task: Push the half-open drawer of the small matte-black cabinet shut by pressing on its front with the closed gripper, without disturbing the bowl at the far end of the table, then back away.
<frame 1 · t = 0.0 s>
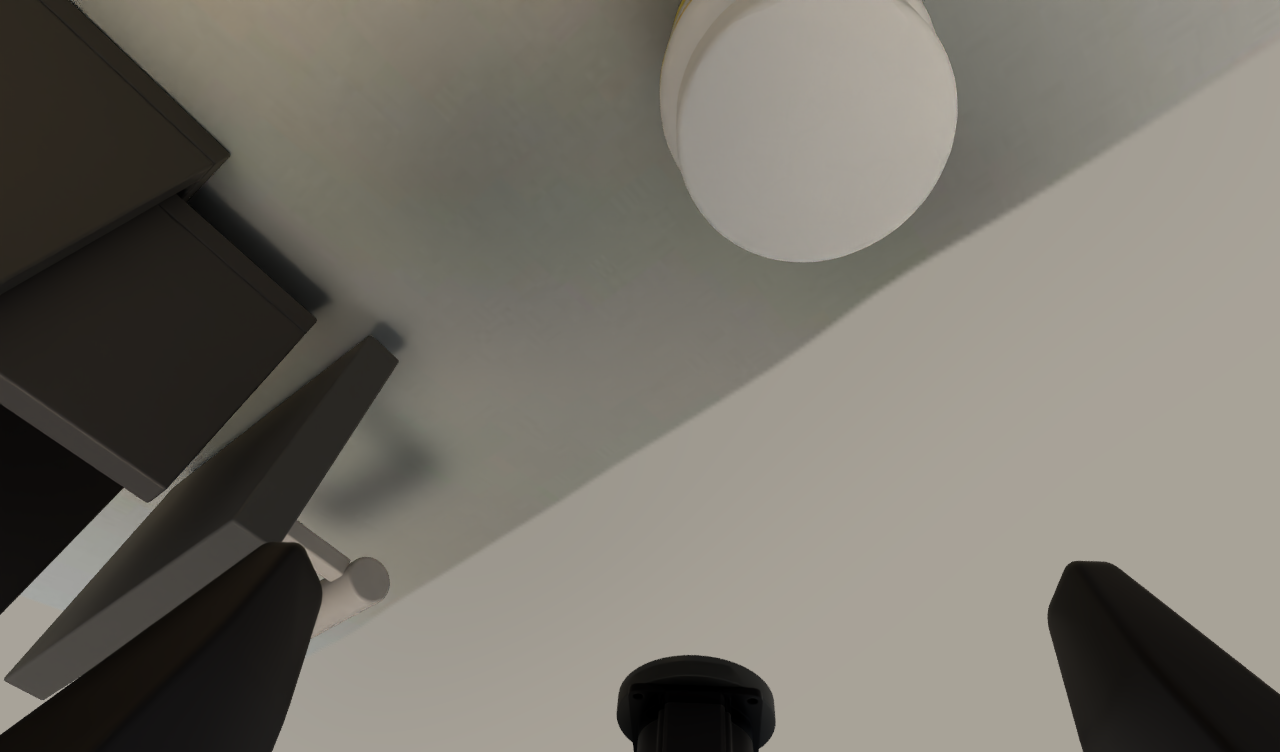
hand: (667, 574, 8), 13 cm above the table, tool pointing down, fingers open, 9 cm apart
supplement bottle: (770, 38, 17), on the table
drawer: (84, 422, 19), point 5 cm above the table, slide at 6.0 cm
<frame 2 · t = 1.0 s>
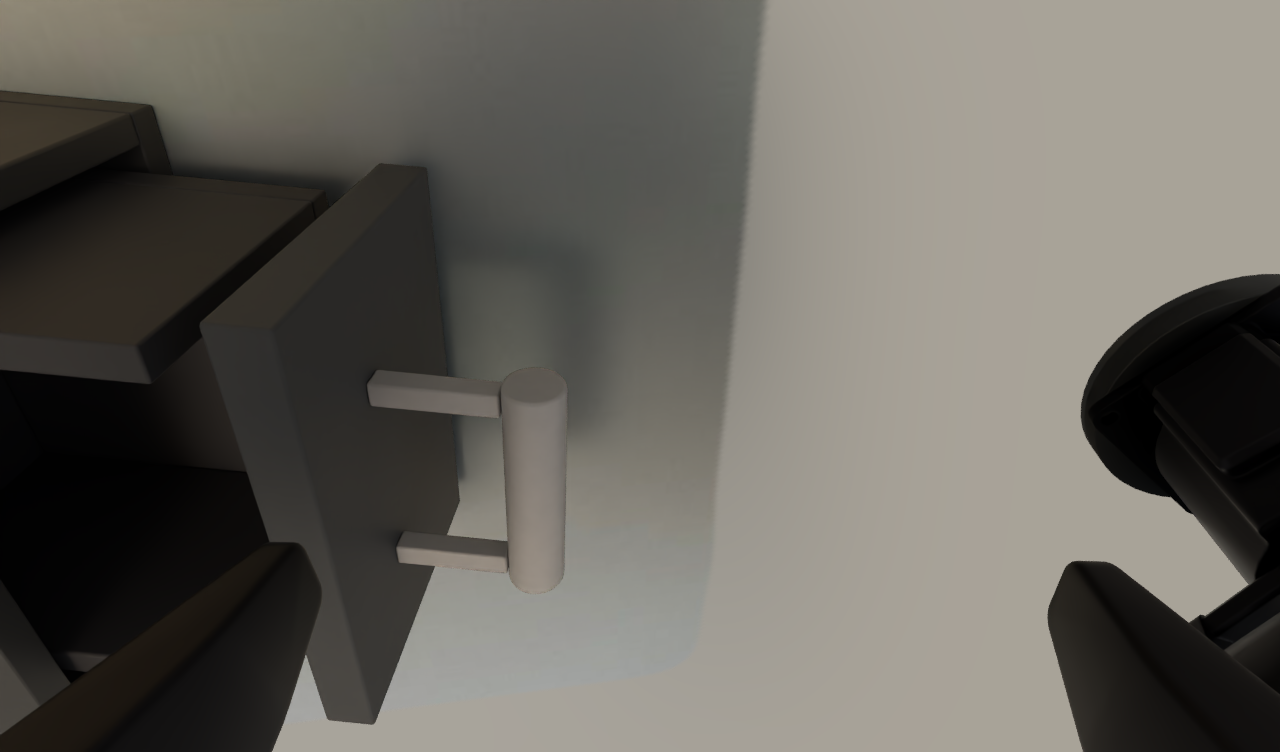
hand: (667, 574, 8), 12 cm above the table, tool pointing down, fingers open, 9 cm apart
drawer: (213, 428, 18), point 5 cm above the table, slide at 6.0 cm
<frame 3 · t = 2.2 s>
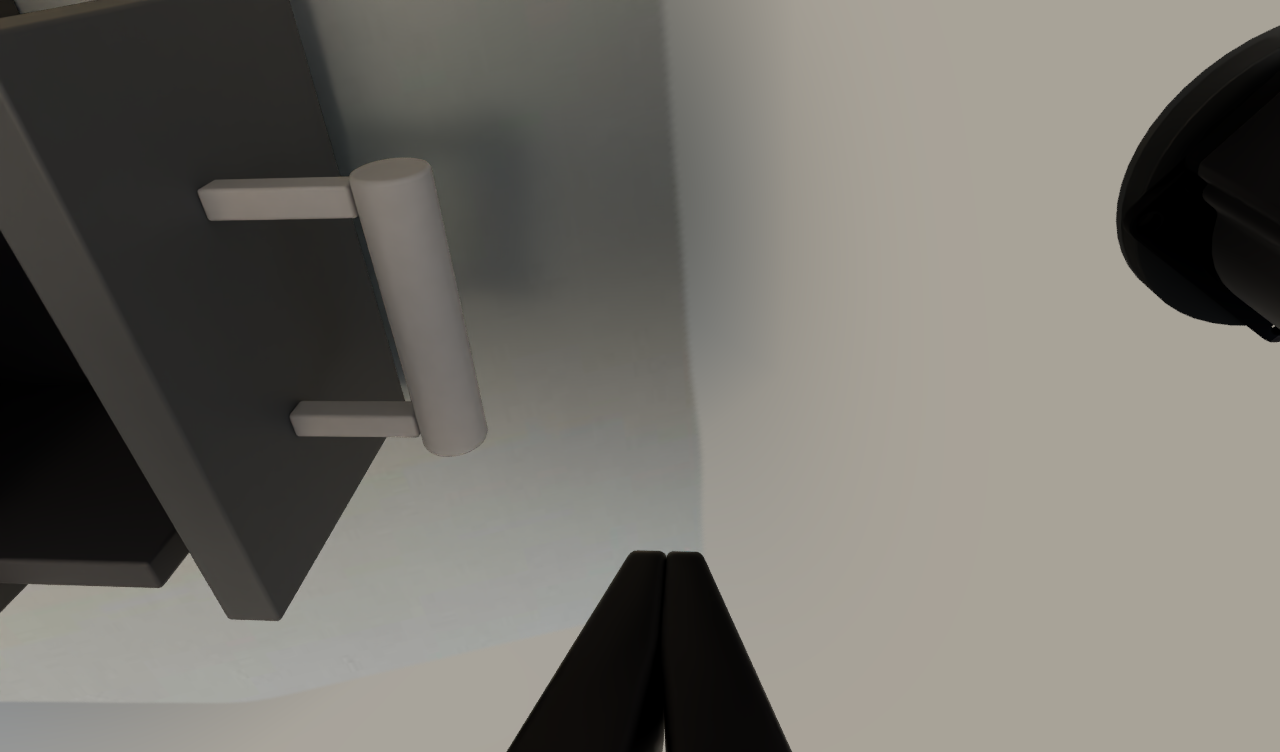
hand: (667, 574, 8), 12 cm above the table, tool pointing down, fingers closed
drawer: (79, 299, 16), point 5 cm above the table, slide at 6.0 cm
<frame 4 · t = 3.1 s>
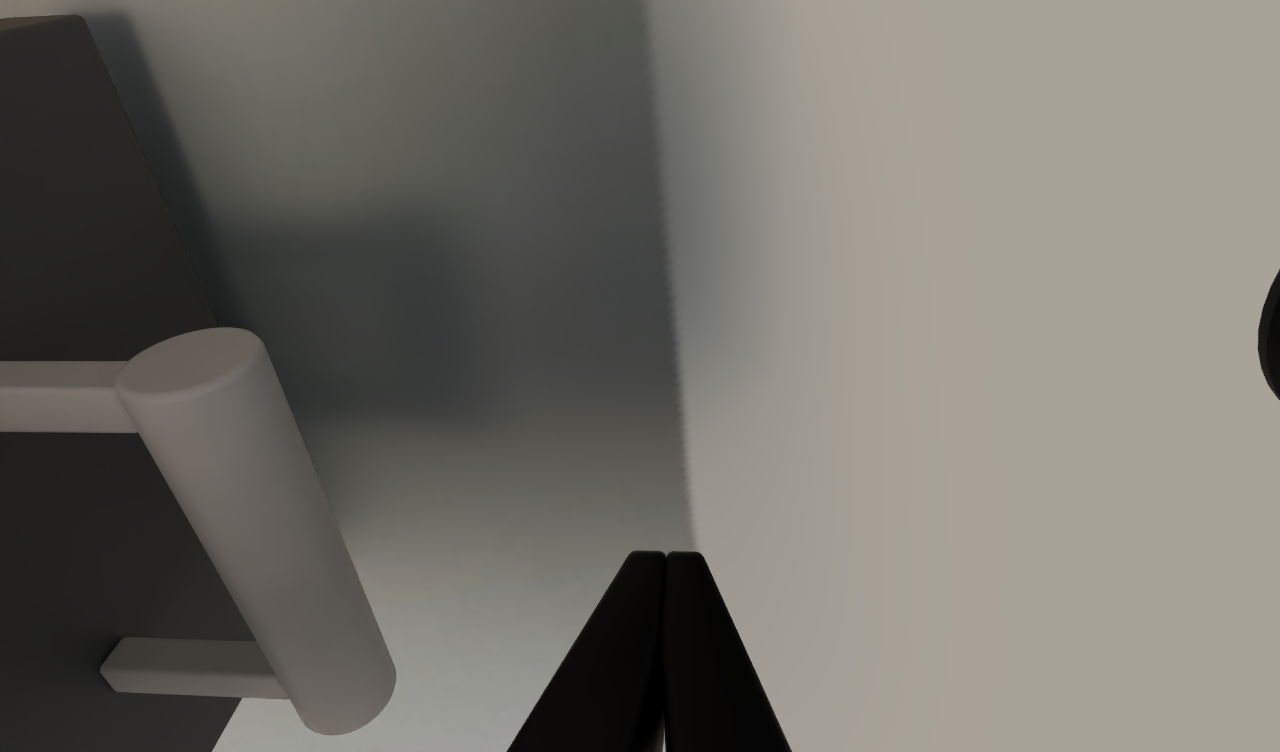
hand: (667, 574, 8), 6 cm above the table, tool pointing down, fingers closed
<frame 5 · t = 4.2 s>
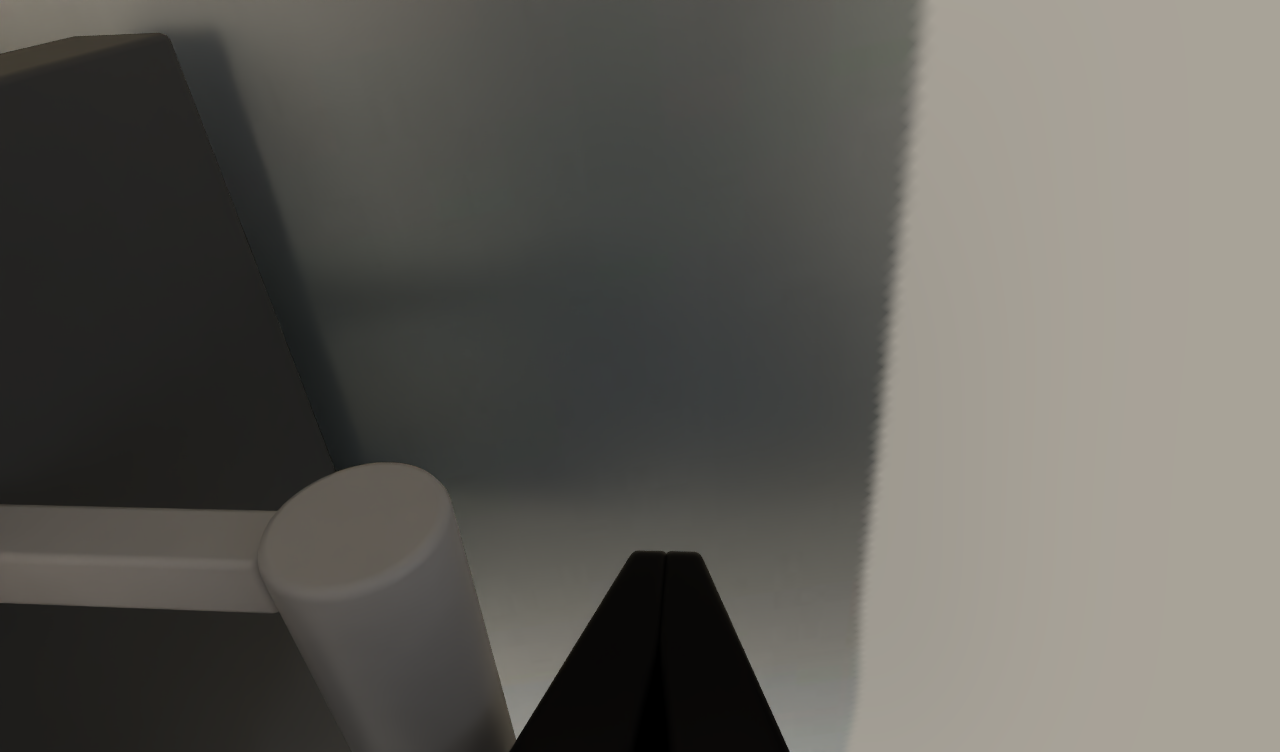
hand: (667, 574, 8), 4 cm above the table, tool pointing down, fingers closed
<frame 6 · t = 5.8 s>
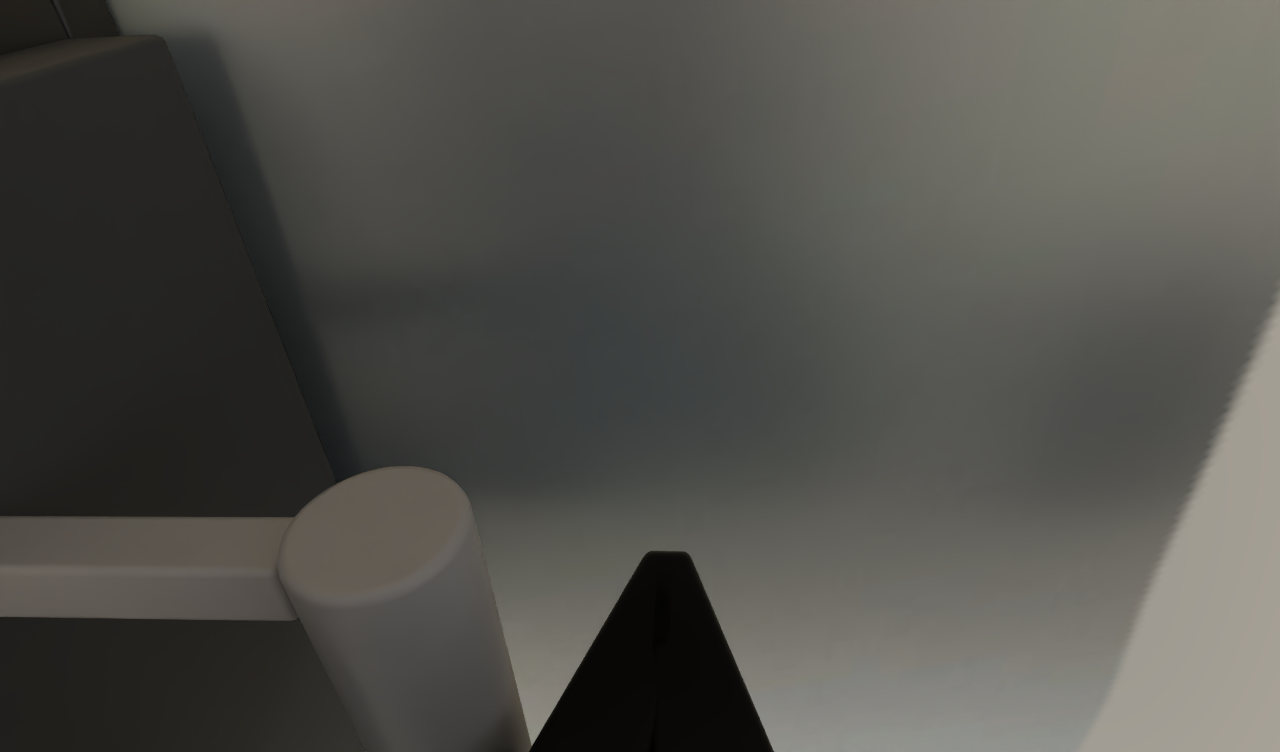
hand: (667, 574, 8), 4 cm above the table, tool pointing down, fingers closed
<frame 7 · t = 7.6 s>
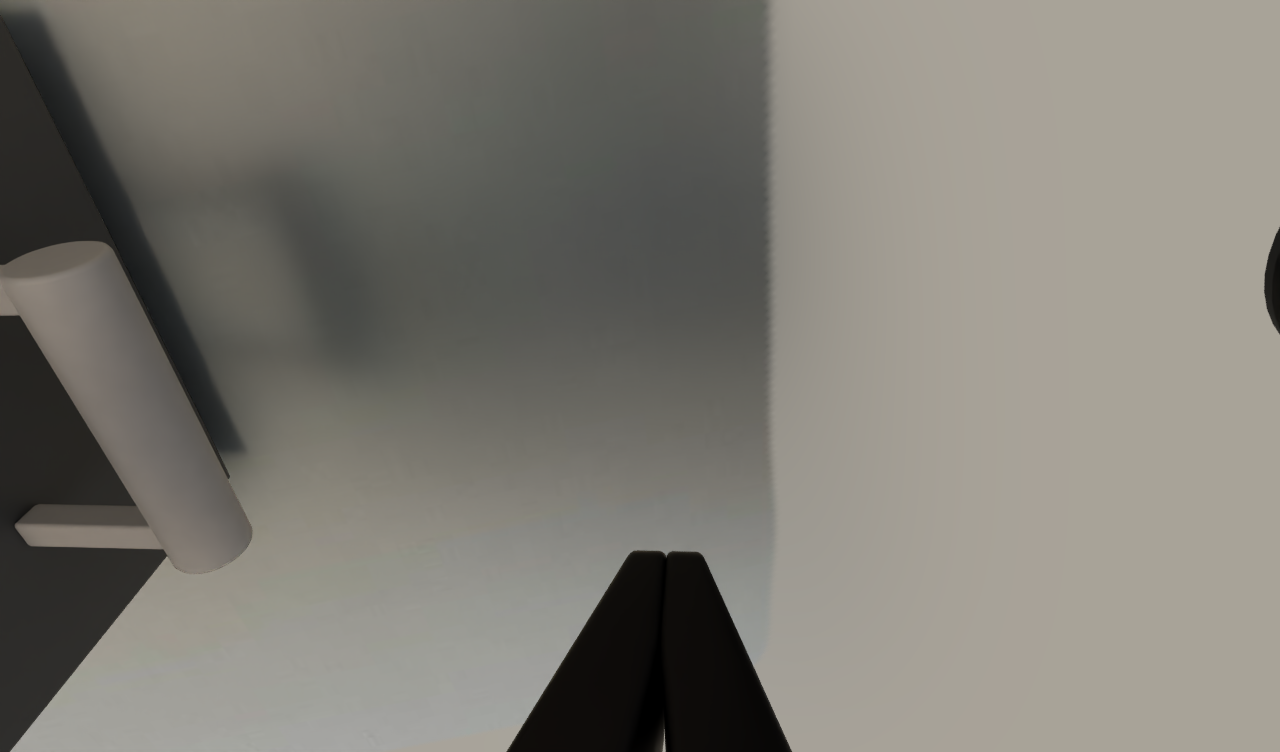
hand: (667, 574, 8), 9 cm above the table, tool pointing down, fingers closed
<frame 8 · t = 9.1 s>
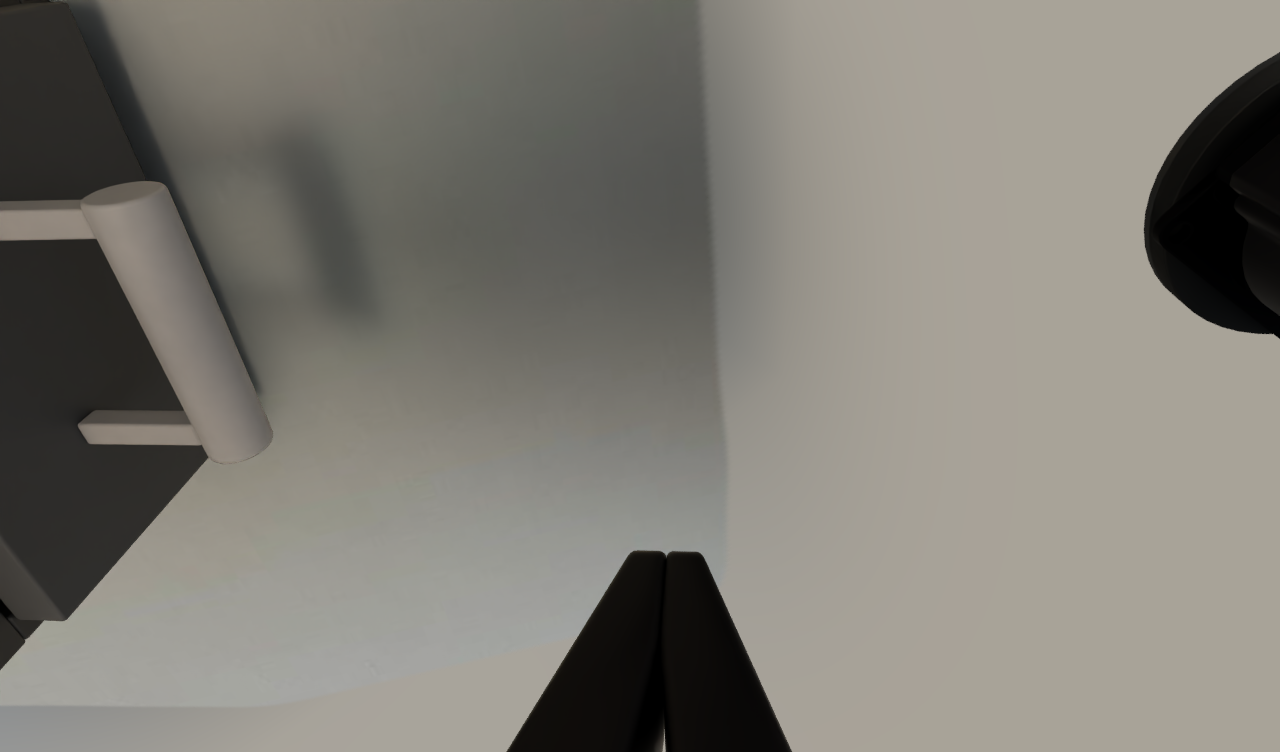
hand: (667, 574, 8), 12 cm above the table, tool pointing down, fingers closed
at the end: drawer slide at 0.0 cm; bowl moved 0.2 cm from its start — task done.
